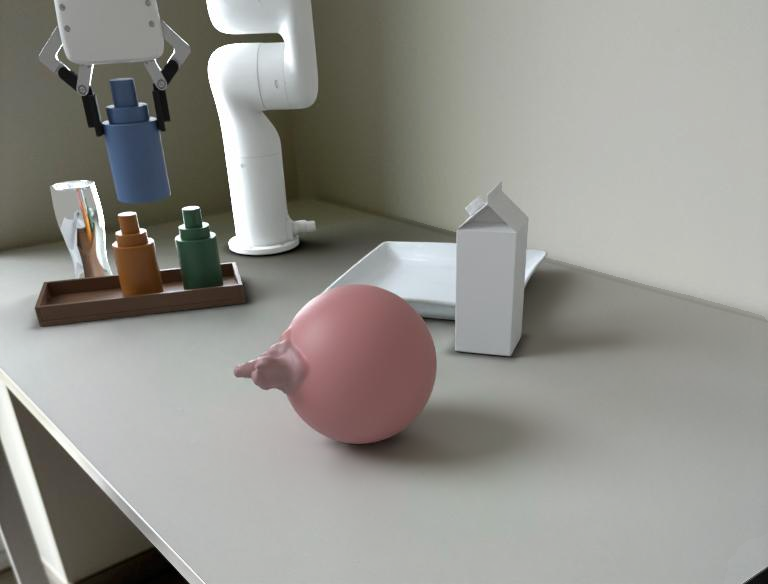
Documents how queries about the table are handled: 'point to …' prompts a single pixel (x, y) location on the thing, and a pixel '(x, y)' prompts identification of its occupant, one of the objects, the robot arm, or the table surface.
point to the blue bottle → (134, 147)
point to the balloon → (352, 364)
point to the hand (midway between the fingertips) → (131, 130)
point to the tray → (130, 297)
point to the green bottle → (197, 252)
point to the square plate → (418, 274)
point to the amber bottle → (136, 258)
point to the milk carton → (490, 275)
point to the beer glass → (81, 226)
